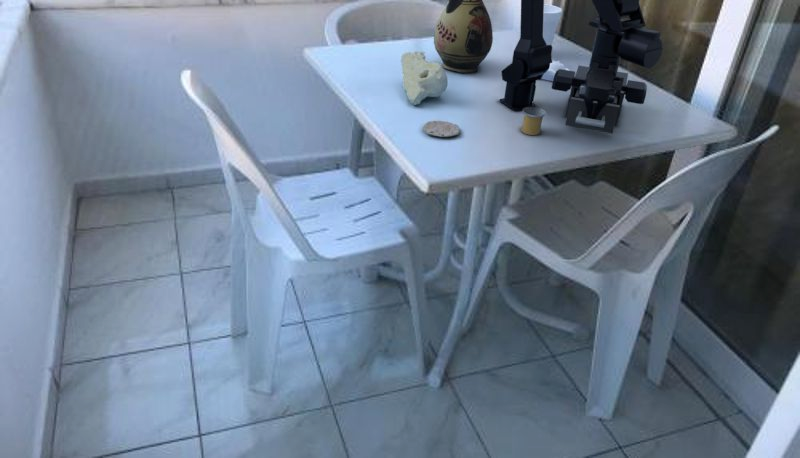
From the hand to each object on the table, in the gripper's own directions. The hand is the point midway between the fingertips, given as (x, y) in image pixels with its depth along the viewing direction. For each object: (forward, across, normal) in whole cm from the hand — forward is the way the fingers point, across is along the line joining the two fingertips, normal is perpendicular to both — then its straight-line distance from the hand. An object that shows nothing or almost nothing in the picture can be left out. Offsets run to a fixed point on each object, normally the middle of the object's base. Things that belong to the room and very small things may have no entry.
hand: (590, 123), depth 139 cm
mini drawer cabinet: (+3, 0, +16) cm, 16 cm away
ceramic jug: (+4, -37, +30) cm, 48 cm away
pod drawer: (+3, 0, +6) cm, 7 cm away
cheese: (+4, -42, +7) cm, 43 cm away
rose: (+4, -13, +35) cm, 37 cm away
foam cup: (+4, -19, +51) cm, 55 cm away
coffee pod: (+3, -12, -2) cm, 13 cm away
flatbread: (+3, -30, -11) cm, 32 cm away
